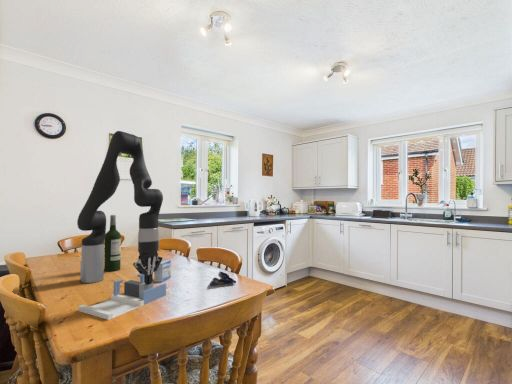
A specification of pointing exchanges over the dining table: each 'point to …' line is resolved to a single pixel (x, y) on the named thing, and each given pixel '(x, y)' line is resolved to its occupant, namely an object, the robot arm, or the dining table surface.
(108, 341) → the dining table surface
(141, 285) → the grey rectangular blocks
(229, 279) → the black clip
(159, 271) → the medicine box
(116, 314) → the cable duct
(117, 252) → the wine bottle
